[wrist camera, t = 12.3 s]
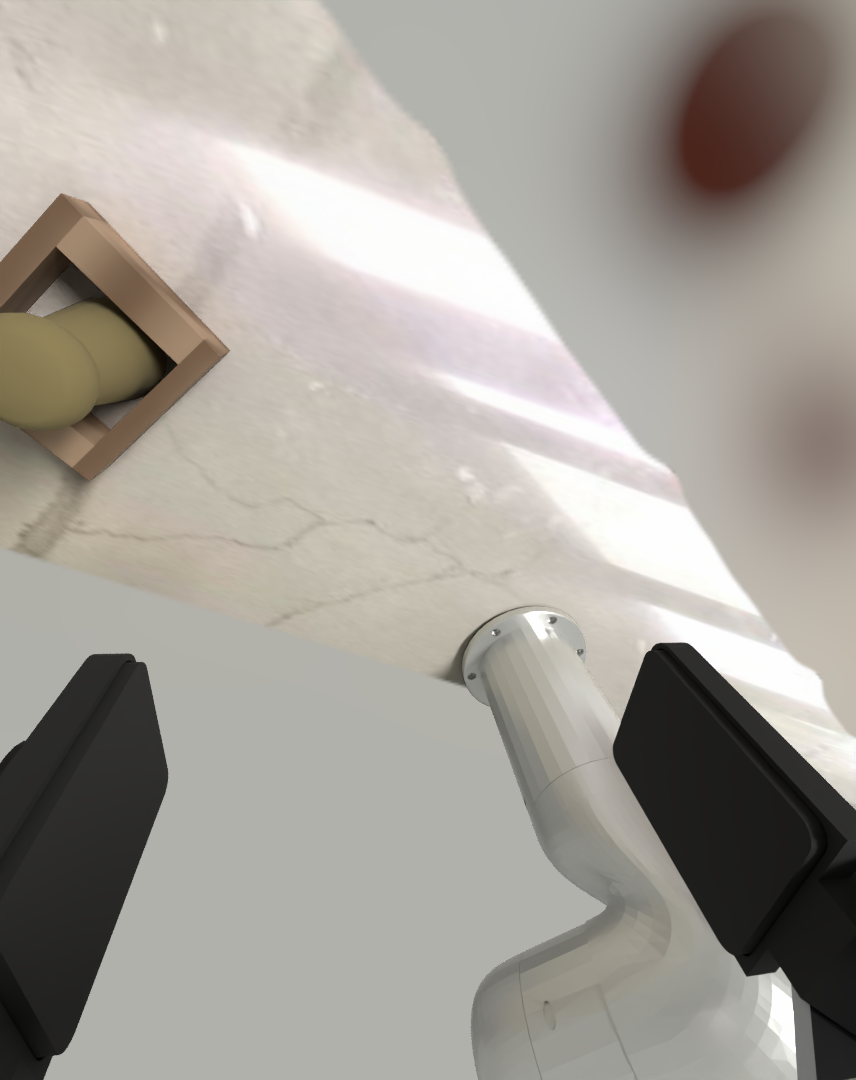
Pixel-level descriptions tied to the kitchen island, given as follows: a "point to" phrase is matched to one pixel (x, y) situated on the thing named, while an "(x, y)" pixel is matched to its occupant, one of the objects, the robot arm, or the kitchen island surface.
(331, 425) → the kitchen island surface
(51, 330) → the tan rounded tapered piece
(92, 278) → the walnut holder
